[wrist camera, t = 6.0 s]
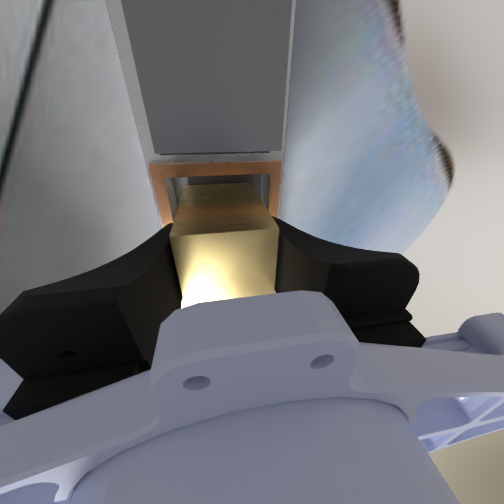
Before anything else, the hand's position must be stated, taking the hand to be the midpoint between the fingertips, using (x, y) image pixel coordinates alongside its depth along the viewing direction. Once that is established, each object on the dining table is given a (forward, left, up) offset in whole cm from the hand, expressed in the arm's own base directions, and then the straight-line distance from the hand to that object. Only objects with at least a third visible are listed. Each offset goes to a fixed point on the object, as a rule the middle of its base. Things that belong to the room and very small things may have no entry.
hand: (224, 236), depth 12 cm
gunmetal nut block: (0, +7, -4) cm, 8 cm away
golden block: (0, 0, -3) cm, 3 cm away
